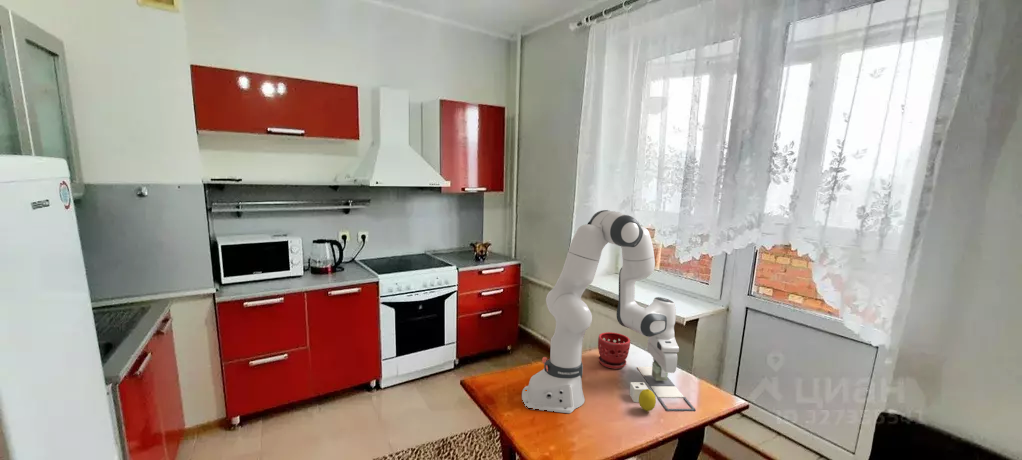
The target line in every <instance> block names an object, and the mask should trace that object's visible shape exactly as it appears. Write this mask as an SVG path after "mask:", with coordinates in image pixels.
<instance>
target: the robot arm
mask: <svg viewBox="0 0 1022 460" xmlns="http://www.w3.org/2000/svg"><path fill="white" fill-rule="evenodd" d="M607 244H612V245H616V246H619V247H621V256H622V257H621V258H622V267H620V270H619V272H618V304H617V309H616V319H617V322H618V323H619V325H621V326H622V327H624V328H627V329H629V330H632V331H634V332H636V333H637V334H640V335H642V336H645V337H647V345H646V348H647V352H648V353H649V355H651V357H652V360H653V361H652V362H656V361H657V363H658V364H659V365H660V366H661V371H660V376H661V377H665V376H666V373H668V374H674V373H675V372H676V371H677V367H678V366H677V365H678V353H679V352H680V347H679V345H678V343H677V341H676V337H675V324H676V320H677V319H676V317H677V315H676V313H677V312H676V303H675V302H674V301H672V299H671V300H670V299H669V298H665V297H660V296H657V297H654V299H653V301H652V302H651V304H649V305H648V306H647V307H644V306H641V305H639V304H638V303H637V301H636V299H635V293H636V292H635V289H636V288H635V285H636V282H638V281H641V280H644V279H647V278H648V277H650V276H651V275H652V274H653V272H654V271H655V268H656V261H655V260H656V259H655V252H654V251H655V250H654V245H653V240H652V237H651V233H650V231H649V230H648V229H647V228H646V227H644V226H642V225H641V224H640V222H639V221H638V220H637V219H636V218H635V217H633V216H630V215H628V214H624V213H622V212H619V211H616V210H615V211H614V210H608V209H607V210H605V209H604V210H602V209H601V210H599V211H597V212H596V213H594V214H593V215H592V216H591V217H590V220H589V221H588V222H587V224H583V225H582V224H581V225H580V226H579V227H578V228H577V230H576V231H575V233H574V236H573V238H572V239H571V242H570V245H569V248H568V251H567V254H566V257H565V261H564V264H563V267H562V270H561V272H560V275H559V277H558V278H557V281H556V283H555V284H554V286H553V288H552V289H550V291H548V293H547V295H546V298H545V303H546V307H547V310H548V311H549V314H551V316H553V317H554V321H555V328H554V332H553V333H554V334H553V336H551V339H550V352H549V353H550V356H549V357H550V358H549V359H548V357H547V356H543V357H542V359H541V361H542V364H543V369H542V370H539V371H538V372H537V373H534V374H533V375H532V376H531V377H530V379H529V382H528V385H526V386H524V388H523V389H522V391H521V401H522V400H523V401H522V403H523V402H524V404H525V405H524V404H523V405H524V406H525V407H526V406H527V407H528V408H533V409H532V410H535V409H539V410H538V411H544V410H547V411H546V412H553V411H554V412H555V413H564V414H572V412H573V411H574V410H576V409H577V408H579V407H581V406H583V405H584V403H585V396H584V392H583V391H584V390H583V382H582V378H583V373H584V371H583V370H584V365H583V361H582V357H583V356H582V353H583V341H584V336H585V333H586V332H587V330H588V329H589V328H590V327H591V325H592V322H593V314H592V312H591V310H590V308H589V306H588V304H587V303H586V302H584V301H583V299H582V296H583V293H584V292H585V291H586V289H587V288H588V286H589V285H591V284H592V283H593V282H594V279H595V276H596V273H597V269H598V266H599V263H600V261H601V256H602V252H603V250H604V248H605V247H606V245H607ZM525 390H527V391H525ZM527 407H526V408H527ZM528 408H527V409H528Z"/></svg>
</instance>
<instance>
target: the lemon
mask: <svg viewBox="0 0 1022 460" xmlns="http://www.w3.org/2000/svg"><path fill="white" fill-rule="evenodd" d="M656 403H657V399H656V394H655V392H654V391H653V390H651V389H649V388H648V389H645V390H643V391H641V393H640V395H639V402H638V404H639V406H640V408H641V409H642V410H644V411H645V412H649V411H653V409H654V408H655V407H656Z"/></svg>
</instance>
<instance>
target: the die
mask: <svg viewBox="0 0 1022 460" xmlns="http://www.w3.org/2000/svg"><path fill="white" fill-rule="evenodd" d="M629 386H630V387H629V396H630V398H631V400H632V401H633V403H639V395H640V393H641V391H643V390H645V389H649V387H648V385H646V383H645V382H644V381H642V382H641V381H630V385H629Z"/></svg>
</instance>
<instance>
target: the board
mask: <svg viewBox="0 0 1022 460" xmlns="http://www.w3.org/2000/svg"><path fill="white" fill-rule="evenodd" d="M636 368H637V370H638V371H639V373H641V376H642V377H643V378H644V380H645V381H646V383H647V384H648V385H649V387H650V388H651V389H652V390H651V391H652V392H653V393H654V395H655V396H656V397H657V400H658V401H659V403H661V405H662V406H663V408H664V409H665V411H666V412H695V411H696V408H695V407H694V406H693V405H692V403H691V402H690V401H689V400H688V398H687V397H686V396H684V395H683V393H682V392H681V391H680V390H679V389H678V388H677V386H675V384H674V383H673V382H672V381H671V379H670V378H669V377H668V378H667V381H656V380H655V379H654V377H653V376H652V366H637V367H636ZM670 398H671V399H683V400H685V403H687V405H688V406H689V407H690V408H668V407H667V405H666V404H665V403H664V401H663V400H662V399H670Z"/></svg>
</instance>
